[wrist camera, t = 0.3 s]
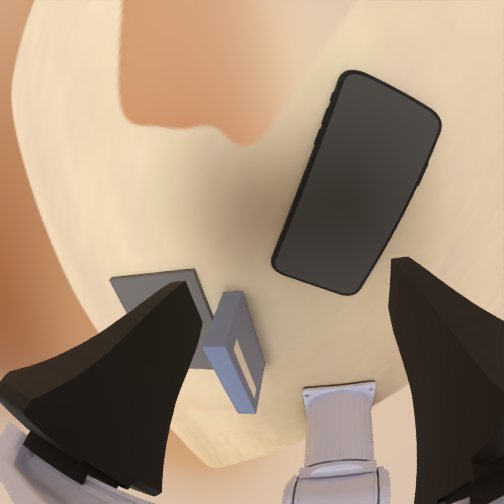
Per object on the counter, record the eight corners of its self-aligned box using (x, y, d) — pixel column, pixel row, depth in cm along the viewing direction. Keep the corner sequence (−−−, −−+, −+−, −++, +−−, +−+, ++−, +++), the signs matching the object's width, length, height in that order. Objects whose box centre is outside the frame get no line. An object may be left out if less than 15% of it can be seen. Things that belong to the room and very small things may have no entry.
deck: (265, 362, 26) (256, 413, 21) (249, 362, 27) (237, 413, 21) (242, 290, 22) (225, 346, 17) (223, 291, 23) (202, 346, 17)
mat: (234, 366, 27) (233, 369, 27) (160, 363, 29) (159, 366, 29) (194, 268, 22) (192, 271, 21) (111, 277, 24) (109, 279, 24)
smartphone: (265, 271, 20) (343, 62, 12) (266, 264, 21) (341, 64, 13) (355, 301, 20) (448, 118, 13) (353, 293, 21) (441, 117, 13)
